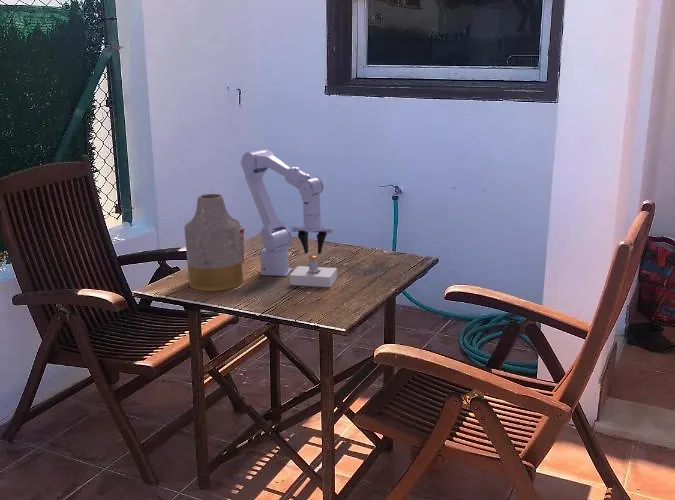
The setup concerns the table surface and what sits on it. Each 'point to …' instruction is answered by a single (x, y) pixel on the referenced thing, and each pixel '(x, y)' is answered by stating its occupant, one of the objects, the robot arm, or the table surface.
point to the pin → (313, 264)
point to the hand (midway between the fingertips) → (313, 252)
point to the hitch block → (313, 277)
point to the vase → (213, 247)
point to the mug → (242, 241)
